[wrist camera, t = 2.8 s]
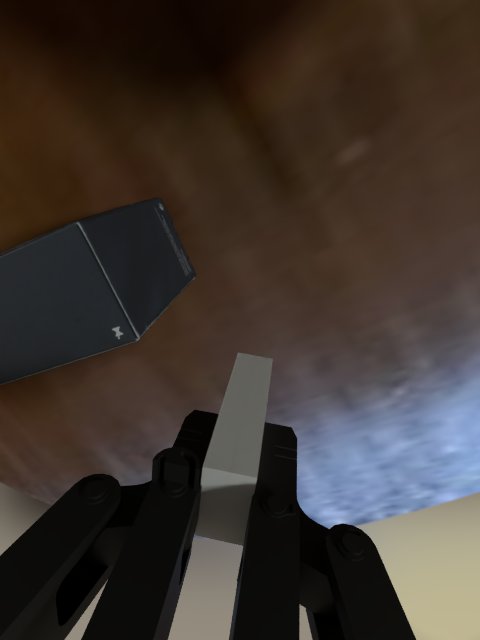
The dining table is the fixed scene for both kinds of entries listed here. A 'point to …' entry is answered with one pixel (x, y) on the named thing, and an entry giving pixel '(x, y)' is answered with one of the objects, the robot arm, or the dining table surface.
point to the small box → (88, 287)
